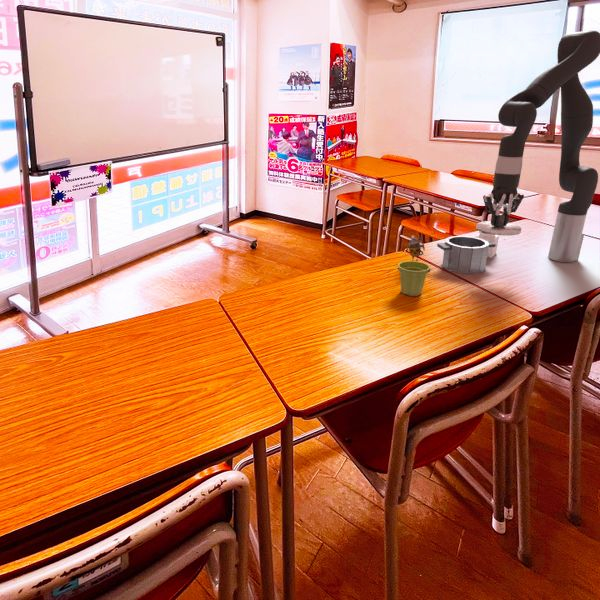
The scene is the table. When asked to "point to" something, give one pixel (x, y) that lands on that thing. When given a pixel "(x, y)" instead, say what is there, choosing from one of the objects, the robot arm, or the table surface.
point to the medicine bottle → (491, 238)
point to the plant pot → (412, 277)
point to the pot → (465, 254)
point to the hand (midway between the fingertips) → (498, 225)
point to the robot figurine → (415, 248)
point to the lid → (499, 227)
